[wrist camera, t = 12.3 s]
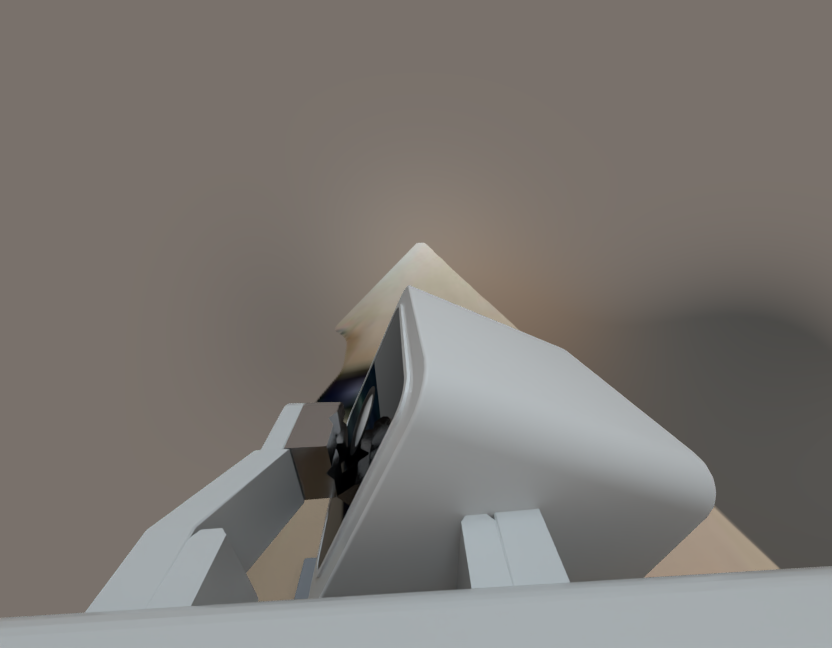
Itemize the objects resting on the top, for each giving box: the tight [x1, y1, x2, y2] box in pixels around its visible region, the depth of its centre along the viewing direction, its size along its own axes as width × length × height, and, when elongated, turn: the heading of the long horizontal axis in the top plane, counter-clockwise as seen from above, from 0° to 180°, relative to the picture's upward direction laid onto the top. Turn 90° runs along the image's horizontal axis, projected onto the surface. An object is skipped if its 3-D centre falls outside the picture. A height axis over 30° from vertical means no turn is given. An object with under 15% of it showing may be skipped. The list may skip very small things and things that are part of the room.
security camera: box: [308, 285, 716, 599], centre depth 9 cm, size 6×7×10 cm
